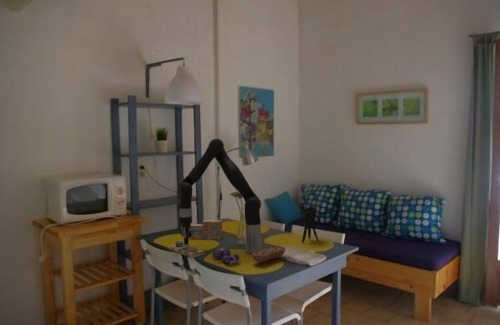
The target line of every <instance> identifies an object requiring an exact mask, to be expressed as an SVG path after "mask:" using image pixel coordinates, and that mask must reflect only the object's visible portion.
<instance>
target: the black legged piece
mask: <svg viewBox="0 0 500 325" xmlns="http://www.w3.org/2000/svg"><path fill="white" fill-rule="evenodd" d="M305 207H306V206H305V204H304V203H302V204H301V205H300V208H301V211H302V213H303V214H304V218H303V219H304V220H303V225H304V228H303V234H302V239H301V243H302V244H304V243H305V241H306V240H305V239H306V237H308V240H311V236H312V231H313V234H314V235H313V236H314V237H315V238H316V241H317V242H318V243H320V241H319V237H318V234H317V232H316V228H315V227H316V225H318V224H320V222H321V219H320V217H319V216H318V215H317V213H318V210H317V206H316V205H314V204H313V205H311V206H308V207H307V208H305ZM315 218H317V221H316V220H315ZM315 221H316V222H315ZM307 235H308V236H307Z"/></svg>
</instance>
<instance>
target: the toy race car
mask: <svg viewBox="0 0 500 325" xmlns="http://www.w3.org/2000/svg"><path fill="white" fill-rule="evenodd" d="M215 250H216V251H214V252H213V253H212V258H213V260H214V261H220V260H221V261H223V262H225V263H226V264H230V265H233V264H236V263H241V262H242V260H241V259H240V255H239V254H238V253H235V254H233V255H232V254H231V250H230V249H229V248H228V247H226V246H224V245H223V246H222V247H216V249H215Z"/></svg>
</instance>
